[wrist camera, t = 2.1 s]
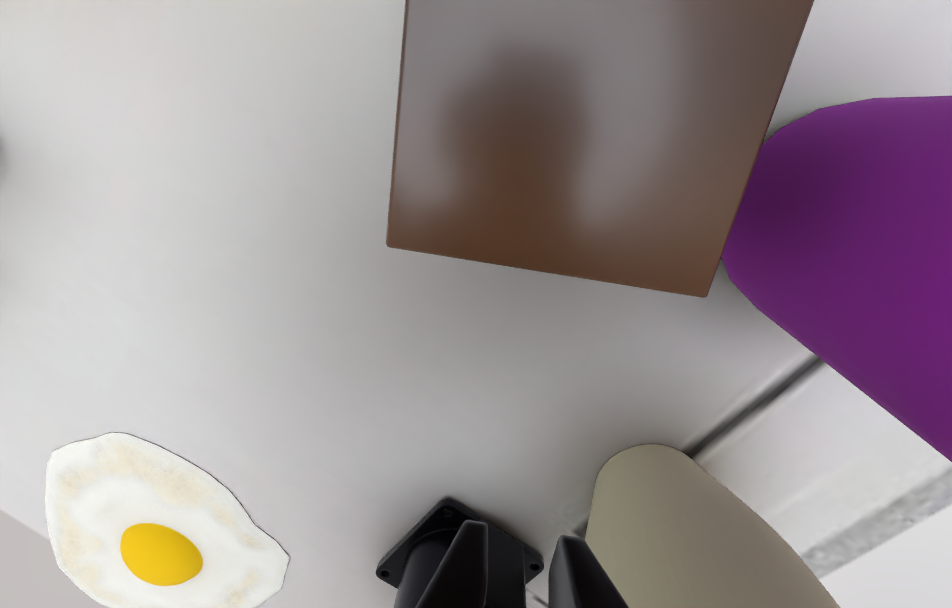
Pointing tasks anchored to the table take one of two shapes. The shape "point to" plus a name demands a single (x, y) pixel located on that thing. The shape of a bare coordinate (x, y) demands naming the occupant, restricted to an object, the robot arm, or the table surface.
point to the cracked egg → (154, 529)
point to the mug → (690, 539)
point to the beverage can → (860, 249)
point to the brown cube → (585, 132)
